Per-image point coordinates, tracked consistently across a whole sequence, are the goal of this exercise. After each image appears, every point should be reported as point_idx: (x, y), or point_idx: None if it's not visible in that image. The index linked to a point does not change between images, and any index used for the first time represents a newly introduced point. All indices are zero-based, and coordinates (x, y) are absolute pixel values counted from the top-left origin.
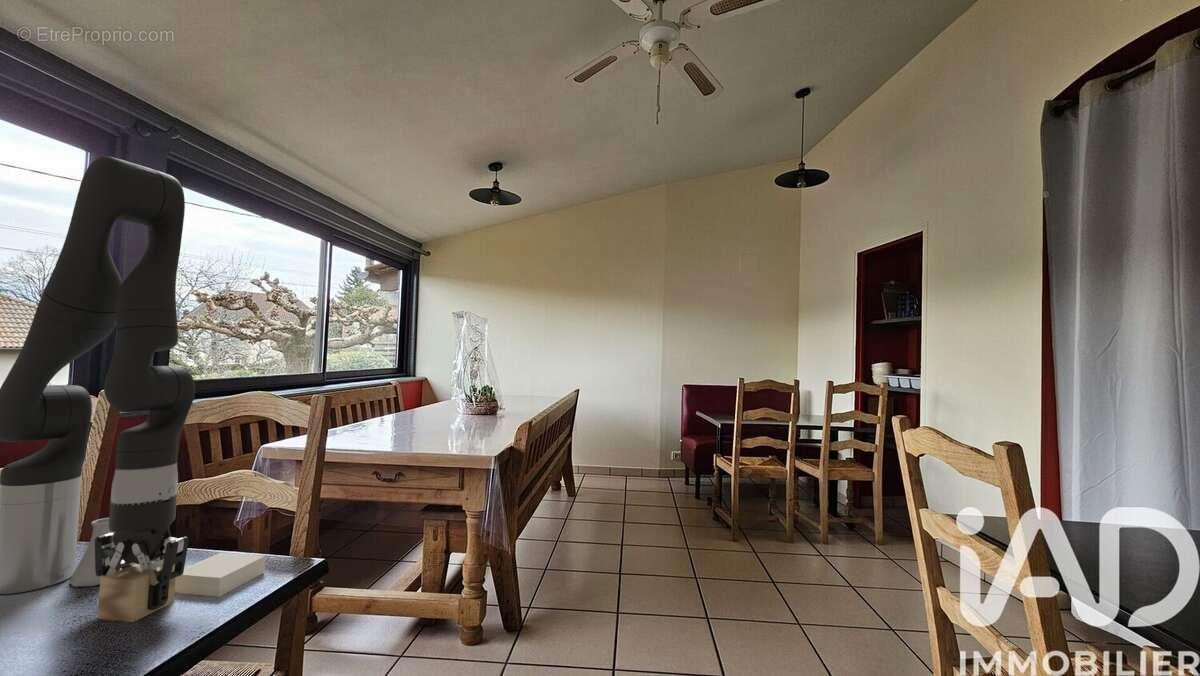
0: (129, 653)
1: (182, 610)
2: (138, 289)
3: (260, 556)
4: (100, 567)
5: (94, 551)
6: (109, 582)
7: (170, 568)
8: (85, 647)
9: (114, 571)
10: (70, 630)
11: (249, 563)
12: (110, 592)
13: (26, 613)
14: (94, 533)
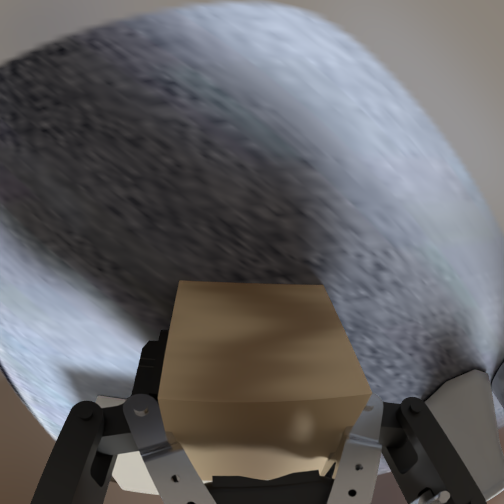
0: (5, 125)
1: (108, 343)
2: None
3: (129, 489)
4: (418, 425)
5: (483, 436)
6: (318, 383)
7: (55, 446)
8: (166, 118)
9: (353, 429)
10: (341, 213)
11: (112, 474)
12: (300, 350)
13: (499, 277)
14: (502, 464)
